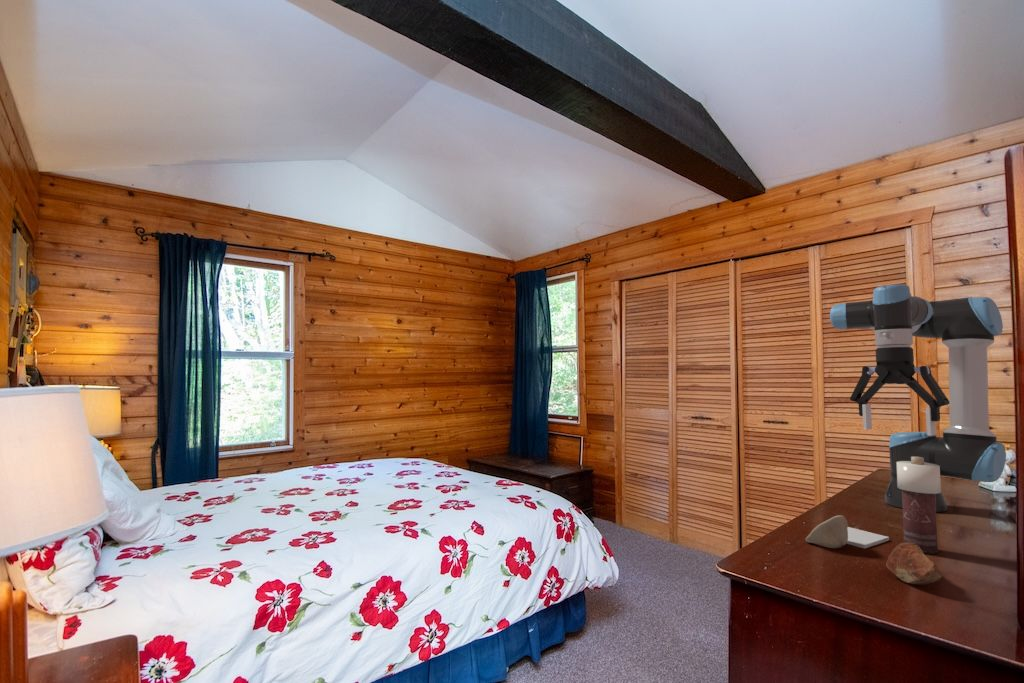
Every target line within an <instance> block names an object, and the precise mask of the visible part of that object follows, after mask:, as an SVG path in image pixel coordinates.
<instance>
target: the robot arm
mask: <svg viewBox="0 0 1024 683" xmlns="http://www.w3.org/2000/svg"><path fill="white" fill-rule="evenodd" d="M872 294H873V295H872V300H863V301H854V302H853V301H852V302H843V303H836V304H834V305H833V306H832V307H831V308H830V312H829V320H830V321H829V322H830V323H831V325H832V326H833V328H835V329H836V330H852V329H859V330H860V329H861V330H874V345H875V346H876V347H877V348H876V349H875V363H876V366H869V365H865V366H863V367H862V369H861V375H860V378H859V379H858V381H857V383H856V386H855V388H854V389H853V392H852V394H851V395H850V398H849V401H852V402H854V403H857V405H858V411H859V412H858V415H859V417H862V427H863V428H862V429H863V430H864V431H865V430H867V431H868V430H872V429H873V422H872V420H873V419H872V404H871V403H869V401H870V400H871V399H872V398H873V397H874V396H875V395H876V394H877V392H879V391H880V390H881V388H882V387H883V386H885V385H886V384H887V385H906V386H908V387H909V388H910V389H911V390H912V391H913V392H915V394H916V395H917V396H918V397H920V398H921V399H922V401H924V402H925V403H926V404H927V405H928V406H929V407H925V419H926V420H925V421H926V431H904V432H902V431H901V432H894V433H892V434H891V435H890V437H889V446H888V449H889V467H890V469H889V470H890V480H889V482H888V485H887V489H886V491H885V494H884V502H885V504H887V505H890V506H892V507H896V508H899V509H903V506H902V491H903V490H902V489H899V488H898V487H897V464H896V462H897V461H911V456H916V457H923V458H924V462H925V463H931V464H936V465H939V466H940V477H947V478H953V479H960V480H967V481H972V482H982V483H983V482H984V483H994V482H997V481H998V480H999V479H1000V478H1001V476H1002V474H1003V472H1004V470H1005V466H1006V460H1007V452H1006V446H1005V444H1004V443H1002V442H1000V441H997V440H998V439H997V434H995V433H994V432H992V431H991V429H990V422H989V421H990V419H989V418H990V417H989V414H990V413H989V374H988V371H989V369H988V348H989V347H990V346H991V345H993V344H994V343H995V336H1000V335H1002V333H1003V328H1004V323H1003V319H1002V315H1001V312H1000V308H999V307H998V305H997V304H996V302H995V300H993V299H992V298H990V297H987V296H980V297H979V296H975V297H972V296H971V297H963V298H961V297H960V298H954V299H953V298H952V299H945V300H943V299H942V300H937V301H936V300H934V301H928V300H927V299H926V298H922V297H920V296H915V295H914V296H912V293H911V288H910V286H909V285H908V284H888V285H881V286H876V287H875V288H874V289H873V291H872ZM913 337H916V338H923V339H924V338H926V339H936V338H937V339H938V338H939V339H941V343H942V344H943V345H944V346H946V347H947V348H948V391H949V392H948V397H947V396H946V394H945V392H944V391H943V390H942V388H941V387H940V385H939V384H938V382H937V380H936V379H935V378H934V376H933V374H932V369H931V367H930V366H929V365H920V366H915V363H914V360H915V359H914V356H915V355H914V348H913V347H911V346H912V345H914V339H913ZM874 373H875V374H876V375H877V378H876V379H874V382H873V383H872V385H870V386H869V388H868V389H866V387H867V385H868V383H869V382H870V380H871V378H872V376H873V375H874ZM916 373H917V374H918V375H919V376H921V378H922V380H923V381H924V383H925V385H926V386H927V388H928V389H929V391H930V393H931V394H930V393H929V391H927V390H926V389H925V388H924V387H923V385H921V384H920V383H919V381H918V380H917V379H916V378H915V377H914V375H915V374H916ZM865 390H866V391H865ZM948 398H949V399H948ZM944 406H949V407H948V408H949V426H948V427H947V428H946V429H945V430H943V431H942V437H941V436H940V437H939V436H938V435H937V428H936V426H937V425H936V422H940V420H941V414H940V413H941V412H940V411H941V410H940V409H941V407H944ZM935 495H936V513H942V512H943V513H944V512H946V511H948V508H947V507H948V505H947V501H946V498H945V496H944V494H943V492H942V490H941V493H938V494H935Z"/></svg>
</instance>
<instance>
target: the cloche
mask: <svg viewBox="0 0 1024 683" xmlns="http://www.w3.org/2000/svg"><path fill="white" fill-rule="evenodd" d="M896 464H897V487H898V488H899V489H902V490H906V491H911V492H917V493H928V494H938V493H941V491H942V488H941V476H940V466H939V465H936V464H931V463H925V462H924V458H923V457H916V456H911V461H897V462H896Z"/></svg>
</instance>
